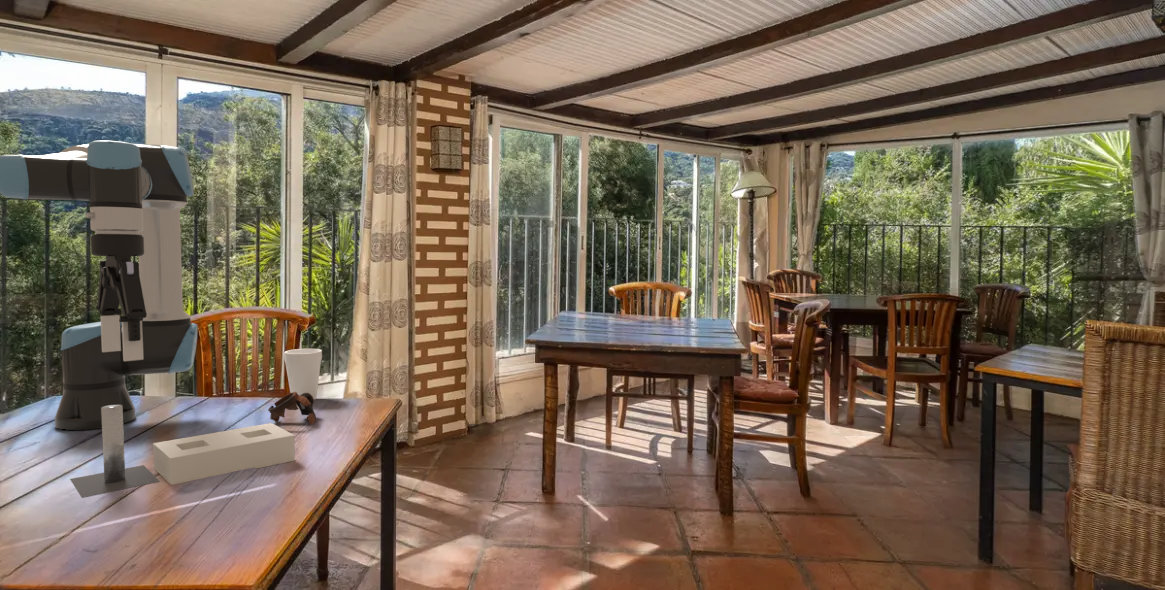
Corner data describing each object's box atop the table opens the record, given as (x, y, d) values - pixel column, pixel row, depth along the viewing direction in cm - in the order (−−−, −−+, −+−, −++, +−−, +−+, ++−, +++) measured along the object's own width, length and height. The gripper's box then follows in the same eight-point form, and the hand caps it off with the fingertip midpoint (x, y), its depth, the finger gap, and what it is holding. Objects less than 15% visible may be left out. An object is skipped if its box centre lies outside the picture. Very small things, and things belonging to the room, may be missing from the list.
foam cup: (299, 404, 175) (298, 355, 174) (277, 399, 180) (276, 351, 179) (330, 397, 183) (329, 350, 182) (308, 393, 188) (307, 347, 187)
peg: (102, 480, 117) (99, 406, 116) (123, 476, 119) (120, 403, 118) (106, 484, 115) (103, 409, 114) (127, 480, 117) (124, 407, 116)
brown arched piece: (309, 430, 153) (288, 401, 151) (277, 446, 155) (256, 417, 153) (331, 405, 164) (312, 377, 162) (301, 420, 166) (281, 393, 164)
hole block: (153, 469, 124) (153, 443, 123) (271, 446, 138) (271, 423, 138) (171, 486, 115) (170, 458, 115) (294, 460, 130) (294, 435, 130)
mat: (70, 481, 117) (70, 478, 117) (143, 467, 125) (143, 464, 125) (82, 500, 109) (81, 497, 109) (160, 483, 117) (160, 481, 117)
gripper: (73, 233, 121) (78, 350, 122) (110, 231, 104) (116, 367, 105) (122, 234, 126) (126, 346, 128) (165, 232, 110) (169, 361, 111)
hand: (122, 355), depth 117 cm, fingers open, 13 cm apart
